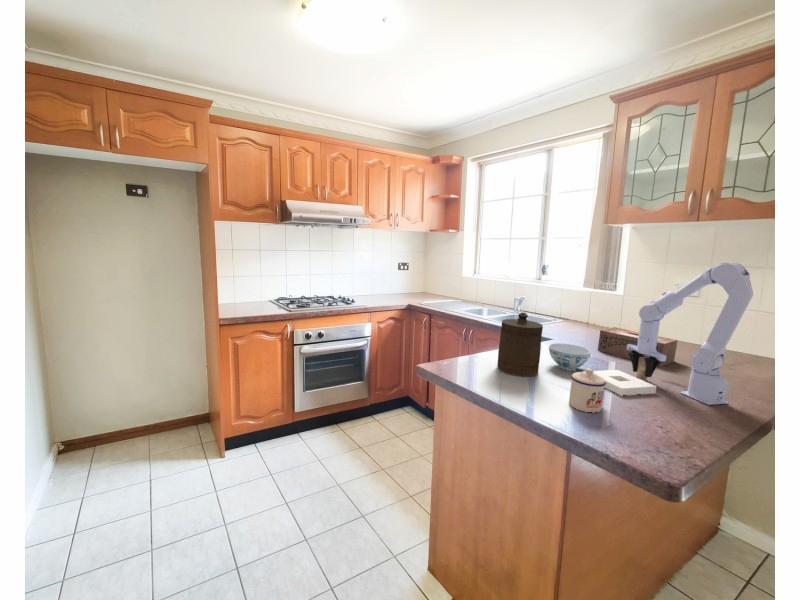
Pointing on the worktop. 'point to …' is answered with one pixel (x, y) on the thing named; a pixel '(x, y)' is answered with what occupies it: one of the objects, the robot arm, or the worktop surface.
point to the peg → (641, 369)
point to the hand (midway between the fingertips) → (642, 374)
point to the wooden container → (520, 346)
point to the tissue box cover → (633, 343)
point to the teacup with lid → (587, 391)
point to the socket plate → (625, 383)
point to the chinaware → (569, 355)
